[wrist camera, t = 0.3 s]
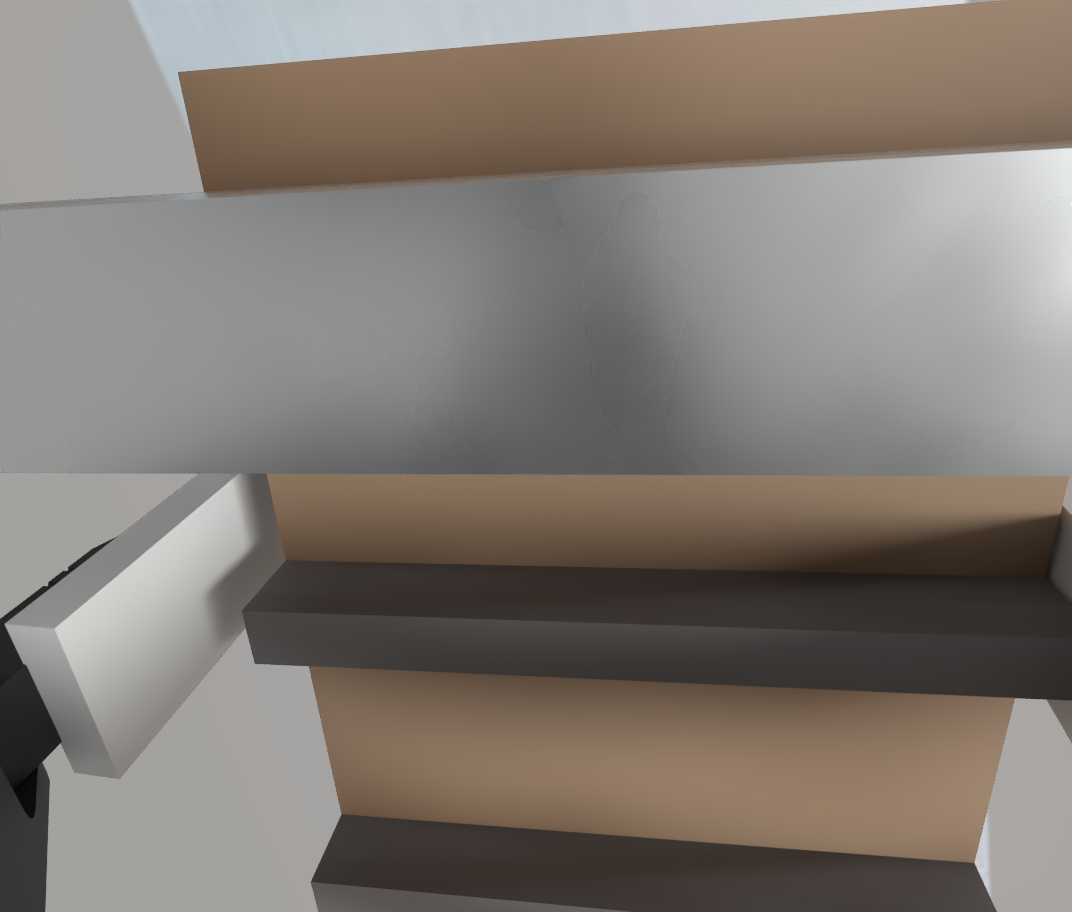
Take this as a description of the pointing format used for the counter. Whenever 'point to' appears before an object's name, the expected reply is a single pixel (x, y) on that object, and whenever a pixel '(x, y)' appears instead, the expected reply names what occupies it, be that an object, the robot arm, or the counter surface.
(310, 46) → the counter surface
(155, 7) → the counter surface
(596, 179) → the steel bar
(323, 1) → the counter surface
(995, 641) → the walnut shelf
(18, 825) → the robot arm
